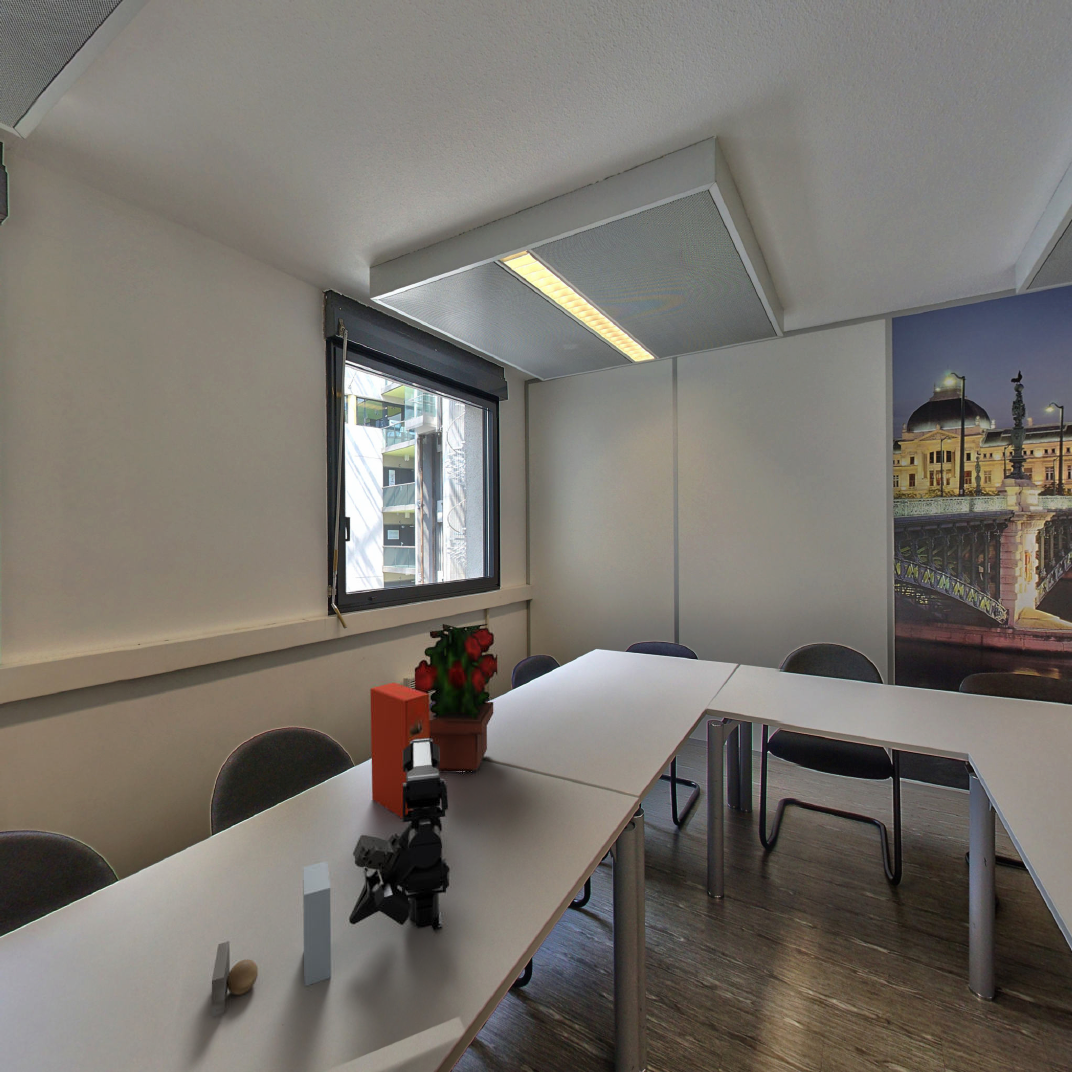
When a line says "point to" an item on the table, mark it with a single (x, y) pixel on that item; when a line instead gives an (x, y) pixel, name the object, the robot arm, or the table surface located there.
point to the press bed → (220, 979)
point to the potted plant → (458, 694)
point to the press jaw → (316, 923)
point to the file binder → (394, 739)
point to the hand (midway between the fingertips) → (351, 922)
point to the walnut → (242, 977)
